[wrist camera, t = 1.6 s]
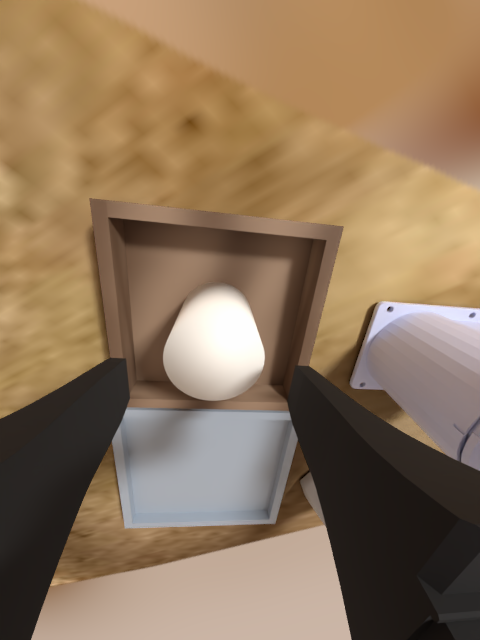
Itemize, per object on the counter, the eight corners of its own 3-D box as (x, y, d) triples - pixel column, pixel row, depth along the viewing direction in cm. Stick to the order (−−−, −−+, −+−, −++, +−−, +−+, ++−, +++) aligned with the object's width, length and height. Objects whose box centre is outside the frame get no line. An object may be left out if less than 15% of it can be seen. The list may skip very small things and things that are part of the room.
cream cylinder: (254, 284, 17) (271, 318, 11) (246, 347, 18) (257, 401, 13) (181, 279, 16) (161, 310, 10) (181, 344, 18) (164, 399, 12)
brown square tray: (325, 225, 16) (343, 226, 13) (289, 390, 21) (297, 411, 19) (110, 201, 14) (89, 198, 12) (128, 384, 19) (116, 407, 17)
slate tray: (299, 401, 22) (304, 413, 20) (272, 508, 28) (275, 523, 26) (114, 396, 20) (107, 409, 18) (130, 511, 26) (125, 528, 25)
